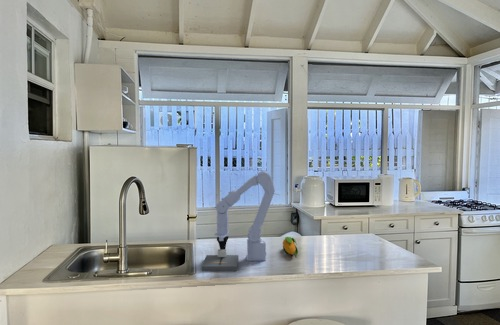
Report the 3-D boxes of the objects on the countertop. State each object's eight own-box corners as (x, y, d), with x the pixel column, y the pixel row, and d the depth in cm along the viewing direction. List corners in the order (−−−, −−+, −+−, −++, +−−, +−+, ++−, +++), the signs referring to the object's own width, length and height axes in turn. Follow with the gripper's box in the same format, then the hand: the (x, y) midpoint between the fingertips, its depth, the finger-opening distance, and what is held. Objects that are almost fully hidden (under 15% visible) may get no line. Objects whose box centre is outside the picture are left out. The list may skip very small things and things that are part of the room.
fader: (226, 255, 166) (226, 249, 166) (225, 257, 164) (225, 250, 164) (218, 255, 166) (218, 249, 166) (217, 257, 164) (217, 250, 164)
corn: (294, 233, 187) (300, 244, 167) (295, 247, 188) (301, 259, 168) (281, 234, 187) (285, 245, 167) (281, 248, 188) (286, 260, 168)
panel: (238, 259, 168) (238, 254, 168) (236, 270, 152) (236, 266, 152) (206, 259, 168) (206, 254, 168) (201, 270, 152) (201, 266, 152)
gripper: (216, 221, 176) (216, 247, 177) (212, 228, 162) (213, 255, 163) (229, 221, 176) (229, 247, 177) (227, 228, 162) (227, 255, 162)
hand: (222, 251), depth 170 cm, fingers closed
